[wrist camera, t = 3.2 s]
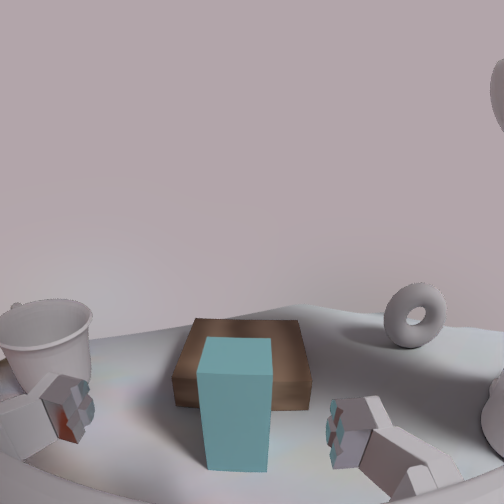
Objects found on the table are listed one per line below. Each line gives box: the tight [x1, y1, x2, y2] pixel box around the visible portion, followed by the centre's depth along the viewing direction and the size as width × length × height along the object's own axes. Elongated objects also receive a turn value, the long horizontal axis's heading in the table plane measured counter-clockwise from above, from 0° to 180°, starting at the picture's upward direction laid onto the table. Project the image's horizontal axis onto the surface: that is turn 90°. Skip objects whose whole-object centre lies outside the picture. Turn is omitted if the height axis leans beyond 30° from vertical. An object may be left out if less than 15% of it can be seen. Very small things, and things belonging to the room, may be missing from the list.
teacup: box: [0, 299, 93, 394], centre depth 29 cm, size 12×15×10 cm
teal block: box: [196, 337, 273, 472], centre depth 24 cm, size 5×5×11 cm
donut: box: [384, 283, 447, 348], centre depth 41 cm, size 10×3×10 cm, turn 82°
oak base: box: [172, 318, 312, 411], centre depth 37 cm, size 14×14×4 cm
